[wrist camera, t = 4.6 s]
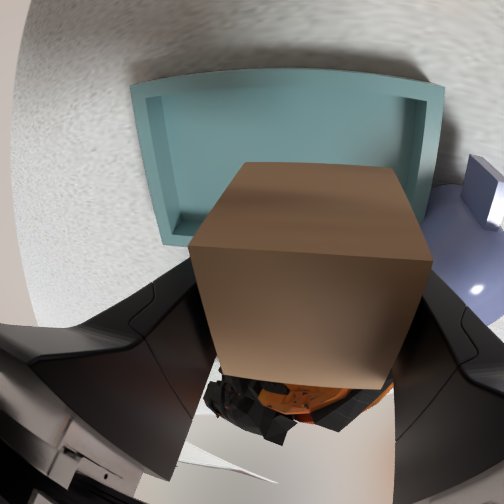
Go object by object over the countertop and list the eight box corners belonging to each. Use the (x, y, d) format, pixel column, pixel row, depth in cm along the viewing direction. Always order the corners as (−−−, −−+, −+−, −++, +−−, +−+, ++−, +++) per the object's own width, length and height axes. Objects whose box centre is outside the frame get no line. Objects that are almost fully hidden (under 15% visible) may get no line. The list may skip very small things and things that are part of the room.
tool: (242, 289, 37) (181, 399, 30) (382, 211, 18) (291, 463, 11) (293, 323, 39) (242, 428, 32) (448, 279, 19) (394, 487, 12)
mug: (504, 156, 14) (558, 205, 9) (469, 268, 20) (494, 334, 15) (418, 137, 16) (458, 181, 11) (394, 261, 22) (406, 332, 16)
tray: (430, 82, 14) (445, 87, 12) (404, 246, 21) (410, 267, 19) (150, 80, 18) (129, 85, 16) (176, 227, 25) (163, 244, 23)
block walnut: (373, 282, 11) (380, 389, 7) (256, 274, 12) (223, 374, 8) (392, 168, 8) (433, 261, 5) (244, 162, 9) (187, 245, 6)
